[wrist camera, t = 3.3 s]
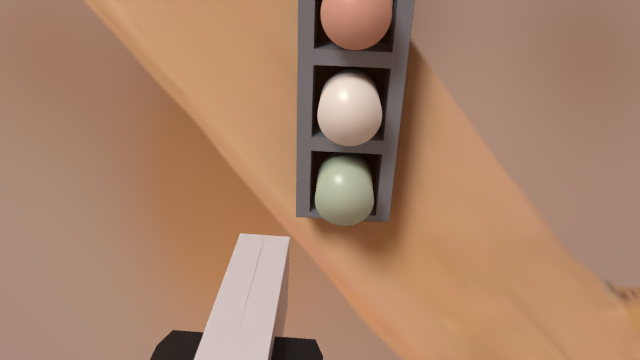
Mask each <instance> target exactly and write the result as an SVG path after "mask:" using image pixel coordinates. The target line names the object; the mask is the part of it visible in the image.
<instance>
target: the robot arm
mask: <svg viewBox="0 0 640 360" xmlns="http://www.w3.org/2000/svg"><path fill="white" fill-rule="evenodd" d="M289 245H290V237H282V236H268V235H254V234H240V236H239V238H238V241H237V244H236V246H235V250H234V252H233V255H232V257H231V260H230V263H229V266H228V268H227V271H226V274H225V276H224V279H223V282H222V285H221V287H220V290H219V293H218V295H217V298H216V301H215V304H214V307H213V309H212V312H211V315H210V317H209V320H208V323H207V325H206V328H205V331H204V332H203V333H202V332H190V331H177V330H173V331H172V332H170V334H169V335H167V336H166V337H165V338H164V339H163V340H162V341H161V342H160V343H159V344H158V345H157V346H156V348H155V351H154V353H153V355H152V357H151V359H150V360H323V356H322V353H321V351H320V349H319V347H318V344H317V342H316V340H315V339H302V338H288V337H283V332H284V326H285V319H286V313H287V301H288V273H289Z"/></svg>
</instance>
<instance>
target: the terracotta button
mask: <svg viewBox="0 0 640 360" xmlns="http://www.w3.org/2000/svg"><path fill="white" fill-rule="evenodd" d="M391 18H392V5H391V0H323V1H322V5H321V22H322V26H323V28H324V31H325V32H326V34H327V36H328V37H329V38H330V39H331V40H332V41H333V42H334V43H335V44H337V45H338V46H340V47H342V48H345V49H349V50H362V49H366V48H369V47H371V46H373V45H374V44H376V43H377V42H378V41H379V40H380V39H381V38H382V37H383V36H384V35H385V33H386V32H387V30H388V28H389V26H390V22H391Z"/></svg>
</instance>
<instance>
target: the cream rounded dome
mask: <svg viewBox="0 0 640 360" xmlns="http://www.w3.org/2000/svg"><path fill="white" fill-rule="evenodd" d="M317 118H318V123H319V127H320V129H321V131H322V132H323V134H324V135H325V136H326V137H327V138H328V139H329V140H331V141H332V142H334V143H336V144H339V145H343V146H356V145H360V144H363V143H365V142H367V141H368V140H370V139H371V138H372V137H373V136H374V135H375V134H376V132H377V131H378V129H379V127H380V125H381V121H382V109H381V104H380V99H379V94H378V90H377V87H376V85H375V83H374V81H373V80H372V79H371V78H370V77H369V76H368V75H367V74H365V73H364V72H362V71H359V70H355V69H345V70H341V71H338V72H336V73H335V74H333V75H332V76H330V77H329V78H328V79H327V81H326V82H325V84H324V86H323V88H322V92H321V97H320V102H319V107H318V114H317Z"/></svg>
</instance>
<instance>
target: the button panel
mask: <svg viewBox="0 0 640 360" xmlns="http://www.w3.org/2000/svg"><path fill="white" fill-rule="evenodd" d="M317 8H318V0H298V89H297V183H296V217H307V218H323V217H322V216H321V215H320V214H319V213H318V211H317V209H316V206H315V193H312V185H313V151H327V152H346V153H366V154H378V161H377V171H376V181H375V192H374V204H373V208H372V210H371V212H370V214H369V215H368V216H367V217H366V218H365V219H364V220H363V221H377V222H389V215H390V207H391V198H392V190H393V181H394V173H395V164H396V155H397V147H398V138H399V130H400V121H401V113H402V104H403V96H404V87H405V78H406V70H407V61H408V53H409V44H410V36H411V27H412V17H413V9H414V0H393V6H392V18H391V27H390V37H389V44H374V45H373V46H371V47H369V48H366V49H362V50H349V49H345V48H342V47H340V46H338V45H337V44H335V43H334V42H330V41H317ZM316 65H327V66H349V67H371V68H386V78H385V89H384V99H383V109H382V121H381V126H380V127H379V129H378V131H377V132H376V134H375V135H374V136H373V137H372V138H371V139H370V140H368V141H367V142H365V143H363V144H360V145H356V146H343V145H339V144H336V143H334V142H332V141H331V140H329V139H328V138H327V137H326V136H325V135H324V134H323V132H322V131H321V129H320V127H319V123H314V114H315V79H316Z"/></svg>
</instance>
